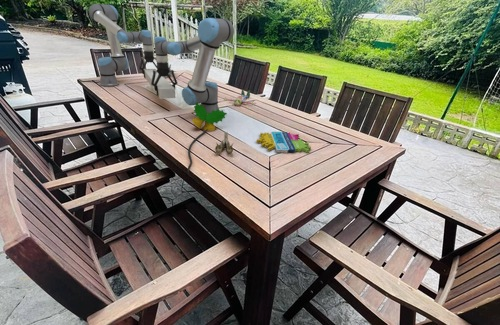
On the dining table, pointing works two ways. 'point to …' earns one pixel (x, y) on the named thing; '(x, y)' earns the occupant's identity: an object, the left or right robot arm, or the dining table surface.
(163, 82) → the slab
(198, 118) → the ornament
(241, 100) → the toy
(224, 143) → the jawbone
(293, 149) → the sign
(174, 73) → the airplane
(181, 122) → the dining table surface
